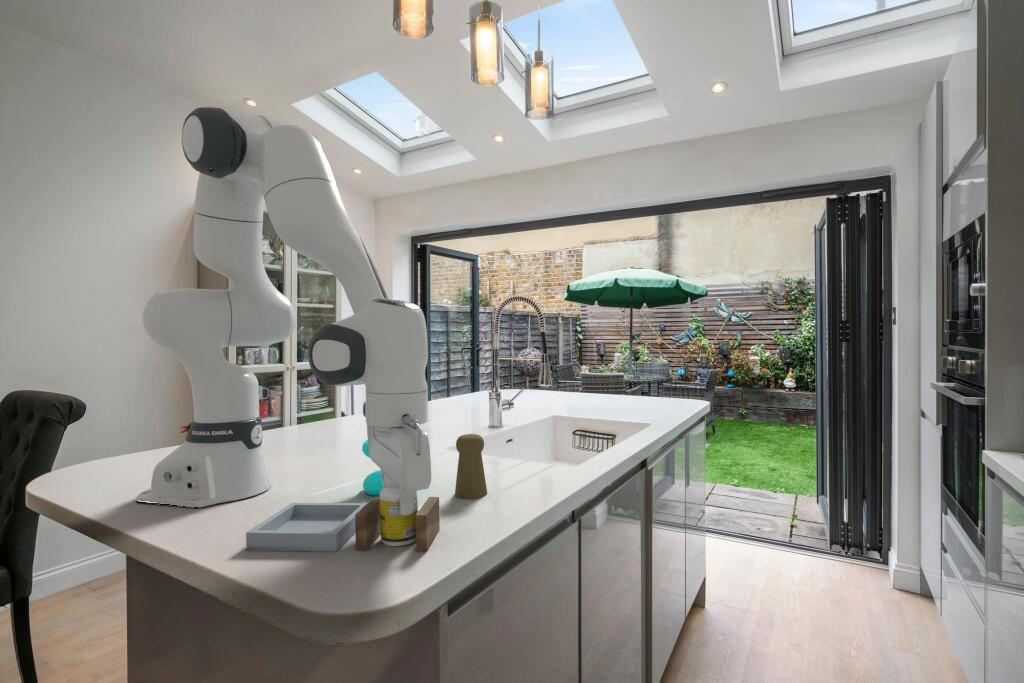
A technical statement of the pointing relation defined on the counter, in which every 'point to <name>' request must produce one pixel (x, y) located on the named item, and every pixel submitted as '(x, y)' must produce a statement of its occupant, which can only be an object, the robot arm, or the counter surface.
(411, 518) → the supplement bottle
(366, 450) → the donuts
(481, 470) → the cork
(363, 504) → the grey tray
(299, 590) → the counter surface
